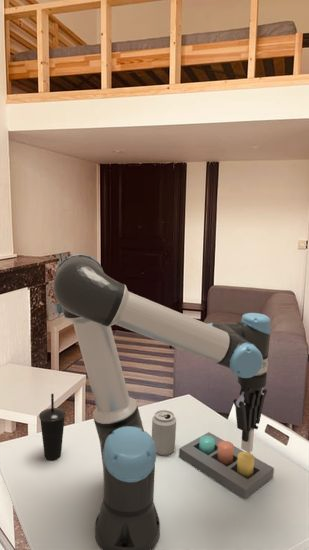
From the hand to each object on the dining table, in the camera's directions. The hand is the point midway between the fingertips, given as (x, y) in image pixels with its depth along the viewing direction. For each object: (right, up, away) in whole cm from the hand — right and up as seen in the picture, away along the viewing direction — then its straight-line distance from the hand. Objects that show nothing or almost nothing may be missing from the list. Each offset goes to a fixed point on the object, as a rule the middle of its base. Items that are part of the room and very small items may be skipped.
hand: (246, 449), depth 113 cm
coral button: (-5, -5, +6) cm, 9 cm away
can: (-23, -6, +14) cm, 28 cm away
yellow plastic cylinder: (0, -6, +1) cm, 6 cm away
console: (-5, -8, +6) cm, 11 cm away
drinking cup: (-57, -6, +9) cm, 58 cm away
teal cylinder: (-10, -5, +11) cm, 16 cm away
